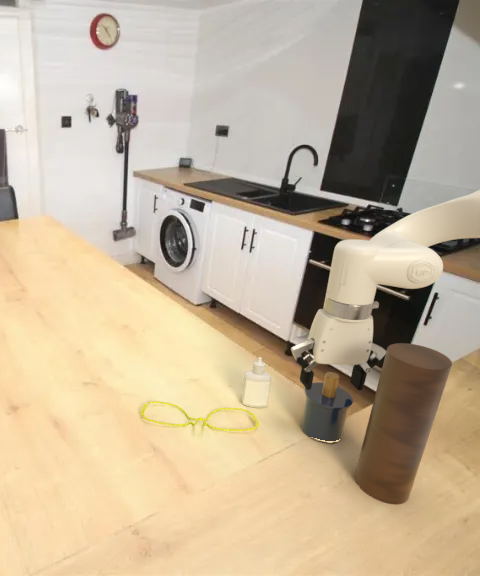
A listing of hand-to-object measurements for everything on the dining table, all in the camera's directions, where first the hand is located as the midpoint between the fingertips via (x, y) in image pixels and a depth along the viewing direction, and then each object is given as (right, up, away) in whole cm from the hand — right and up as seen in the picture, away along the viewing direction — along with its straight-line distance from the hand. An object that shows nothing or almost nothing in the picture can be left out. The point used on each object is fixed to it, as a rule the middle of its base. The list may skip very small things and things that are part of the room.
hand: (330, 386), depth 81 cm
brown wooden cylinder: (+3, -15, -9) cm, 18 cm away
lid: (0, -2, +1) cm, 3 cm away
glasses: (-25, -10, +7) cm, 27 cm away
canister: (0, -10, +4) cm, 11 cm away
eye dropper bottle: (-10, -7, +13) cm, 18 cm away
